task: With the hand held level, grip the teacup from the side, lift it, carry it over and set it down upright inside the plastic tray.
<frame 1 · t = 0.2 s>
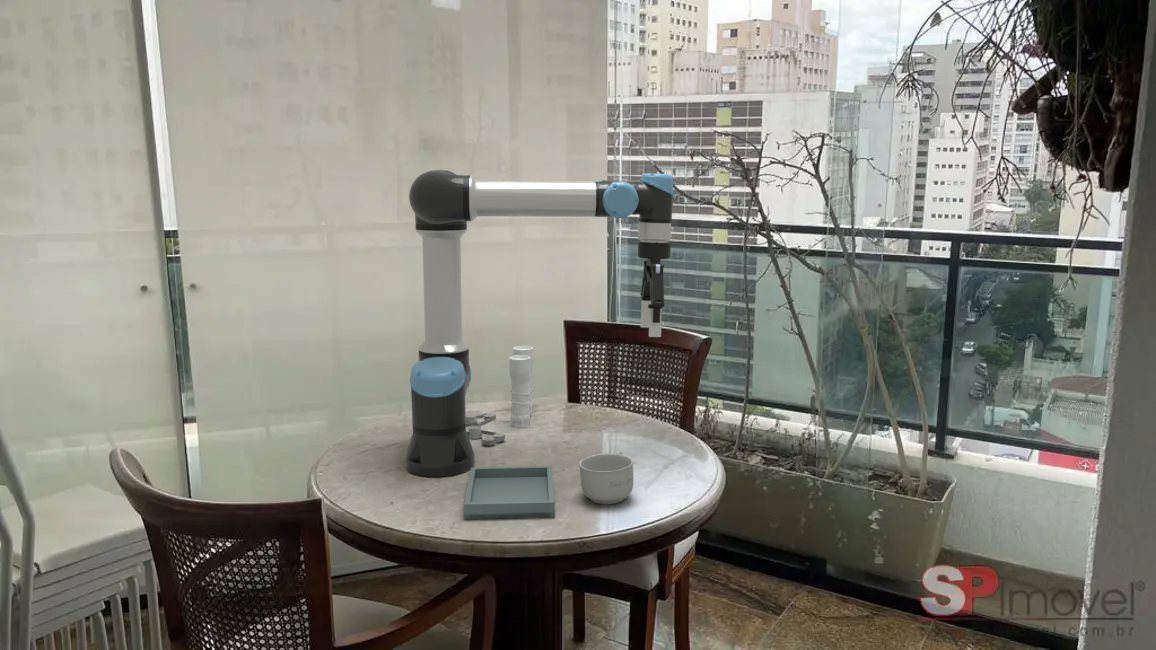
hand: (650, 332, 197), 27 cm above the table, tool pointing down, fingers open, 13 cm apart
pulley system: (470, 433, 211), on the table
binoculars: (522, 419, 222), on the table
teacup: (609, 497, 169), on the table
tray: (510, 498, 168), on the table
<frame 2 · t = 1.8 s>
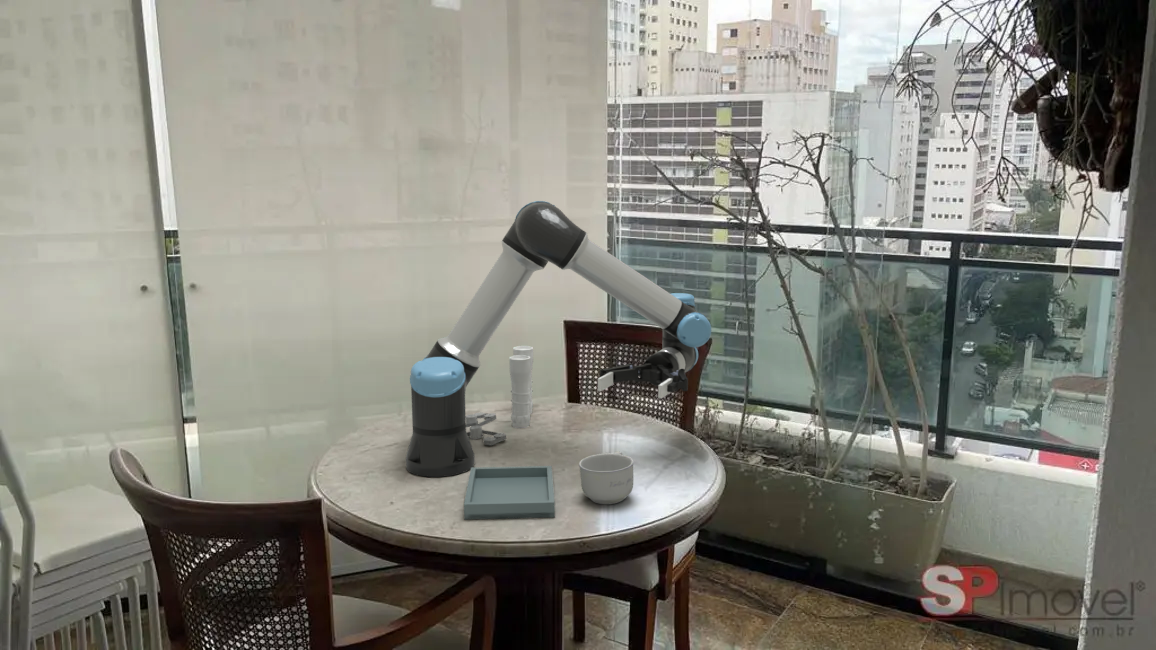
hand: (629, 388, 174), 20 cm above the table, tool horizontal, fingers open, 13 cm apart
nothing on the table moved.
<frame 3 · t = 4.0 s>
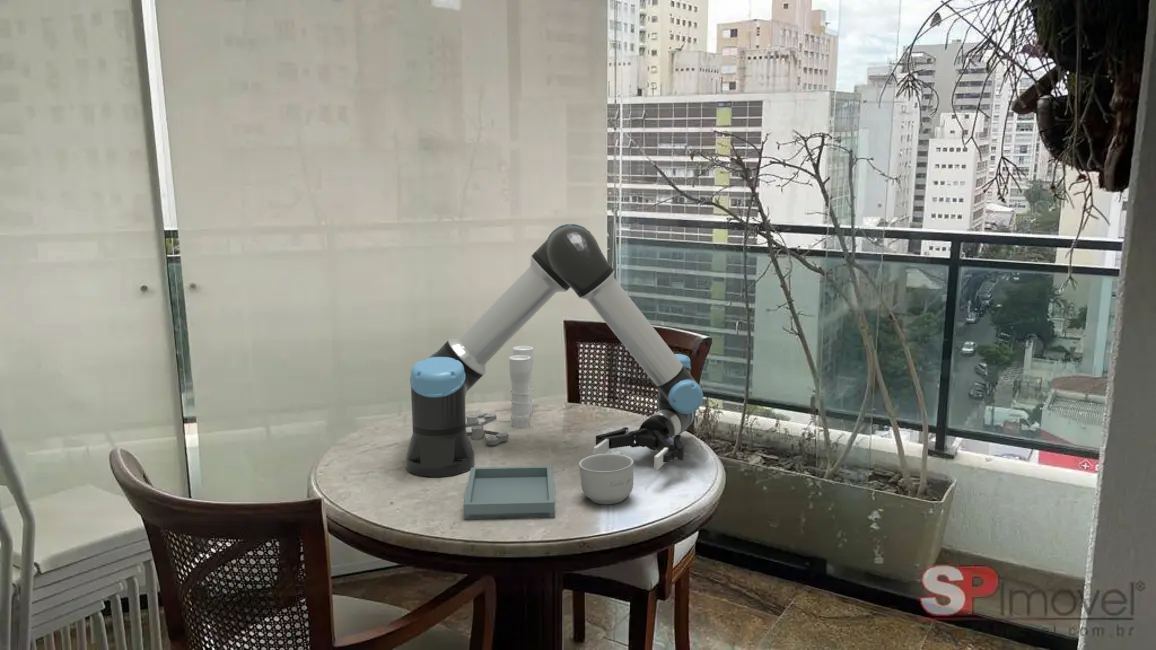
hand: (624, 458, 173), 6 cm above the table, tool horizontal, fingers open, 13 cm apart
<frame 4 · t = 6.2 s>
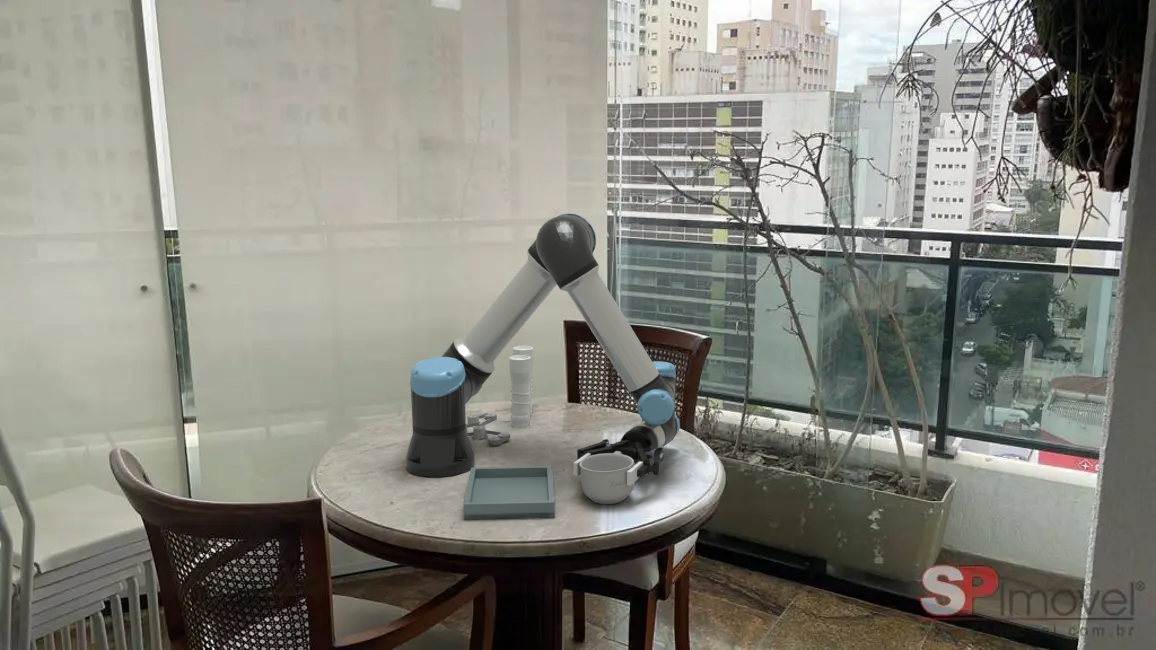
hand: (601, 474, 164), 6 cm above the table, tool horizontal, fingers closed on teacup, 11 cm apart
teacup: (610, 497, 169), on the table, touching gripper
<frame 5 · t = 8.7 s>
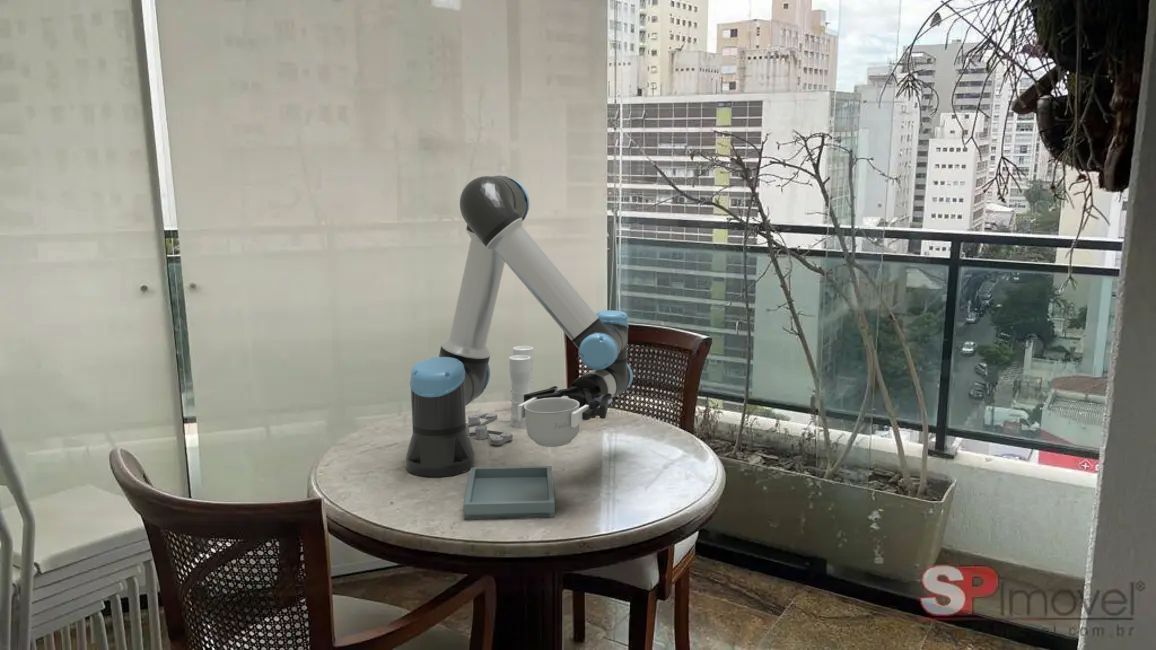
hand: (545, 416, 161), 18 cm above the table, tool horizontal, fingers closed on teacup, 11 cm apart
teacup: (556, 441, 165), point 12 cm above the table, touching gripper
when the fingers open (9 cm above the table, at t = 11.6 s): teacup drops 2 cm, resting on tray.
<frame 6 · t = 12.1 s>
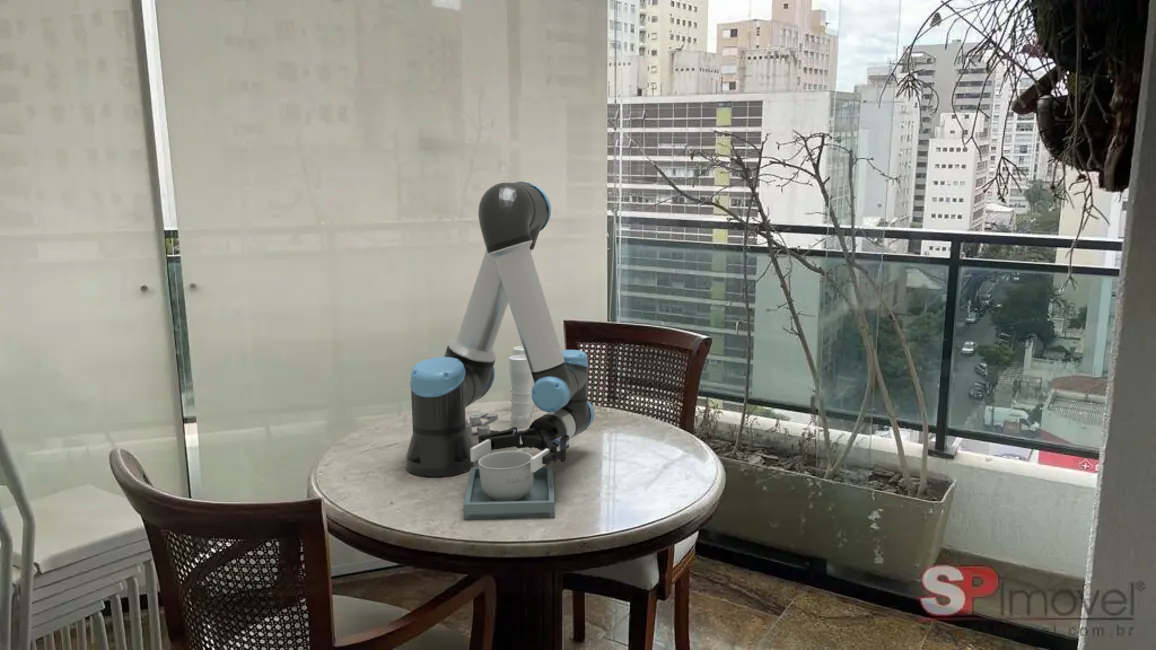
hand: (501, 460, 163), 9 cm above the table, tool horizontal, fingers open, 13 cm apart
teacup: (511, 494, 167), point 1 cm above the table, touching tray
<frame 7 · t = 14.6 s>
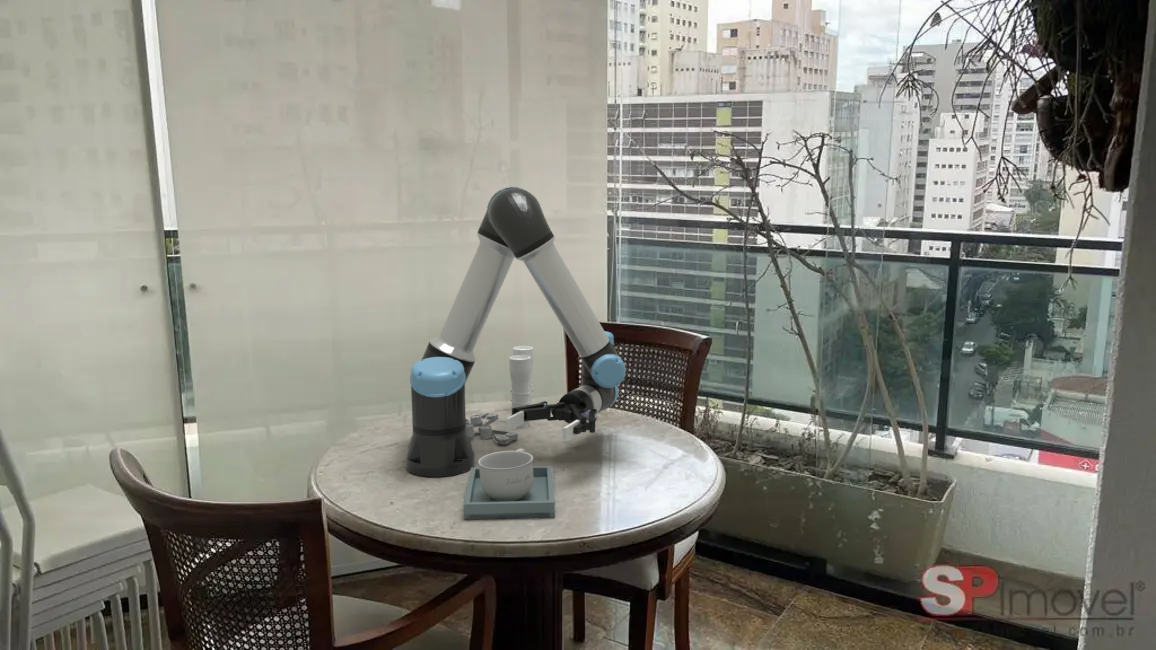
hand: (535, 429, 175), 11 cm above the table, tool horizontal, fingers open, 13 cm apart
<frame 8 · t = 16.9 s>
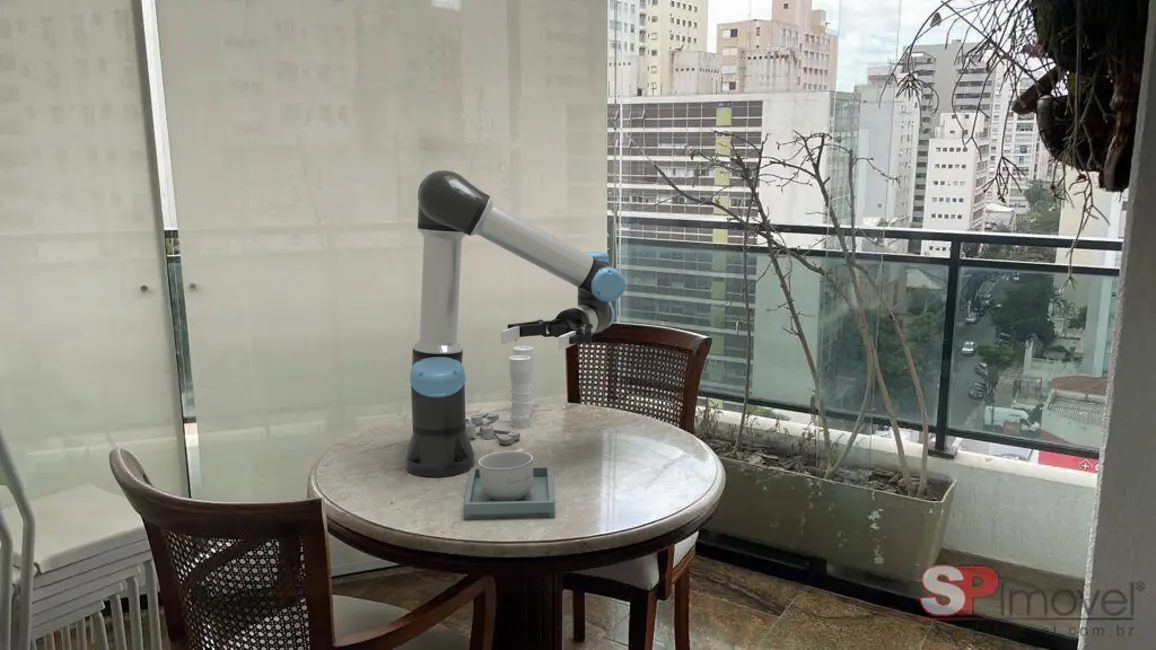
hand: (530, 340, 173), 30 cm above the table, tool horizontal, fingers open, 13 cm apart
at the end: teacup inside the target area on the tray (0.1 cm from its centre), point 0.8 cm above the tray's base; teacup tilted 0°; the gripper is holding nothing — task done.
